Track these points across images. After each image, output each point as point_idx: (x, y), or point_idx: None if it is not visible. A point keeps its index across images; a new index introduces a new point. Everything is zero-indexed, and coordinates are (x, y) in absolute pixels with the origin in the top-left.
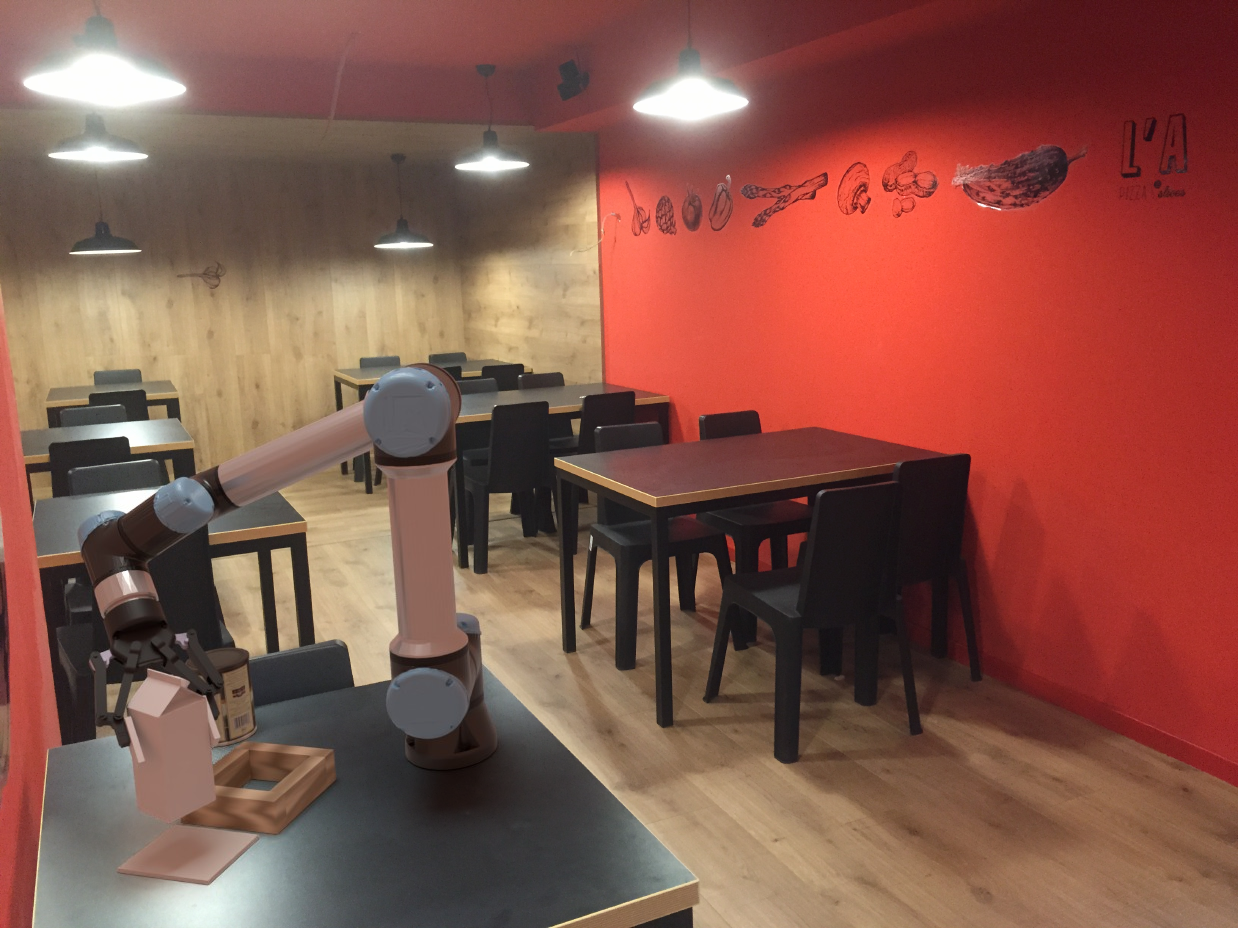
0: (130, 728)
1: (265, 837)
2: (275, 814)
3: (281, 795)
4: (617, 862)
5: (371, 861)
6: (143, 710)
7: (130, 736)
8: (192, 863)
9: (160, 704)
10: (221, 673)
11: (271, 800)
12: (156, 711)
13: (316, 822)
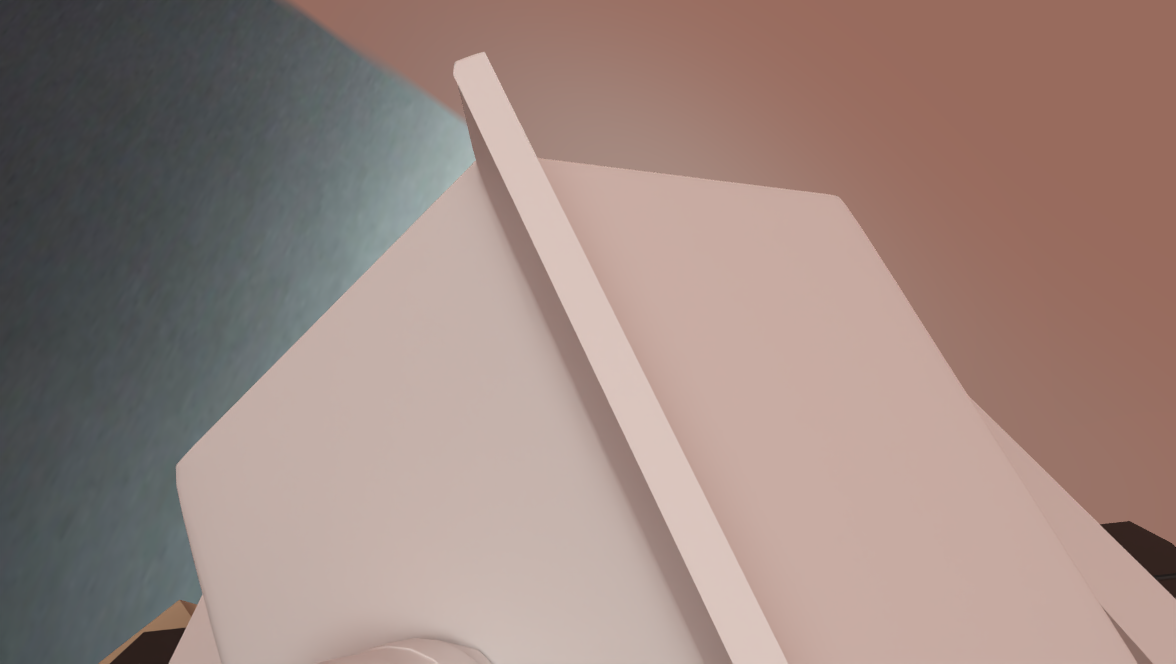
0: (1107, 565)
1: None
2: None
3: (121, 647)
4: None
5: (81, 211)
6: (1026, 502)
7: (1077, 508)
8: None
9: (819, 295)
10: None
11: (183, 625)
12: (865, 280)
13: (74, 607)
